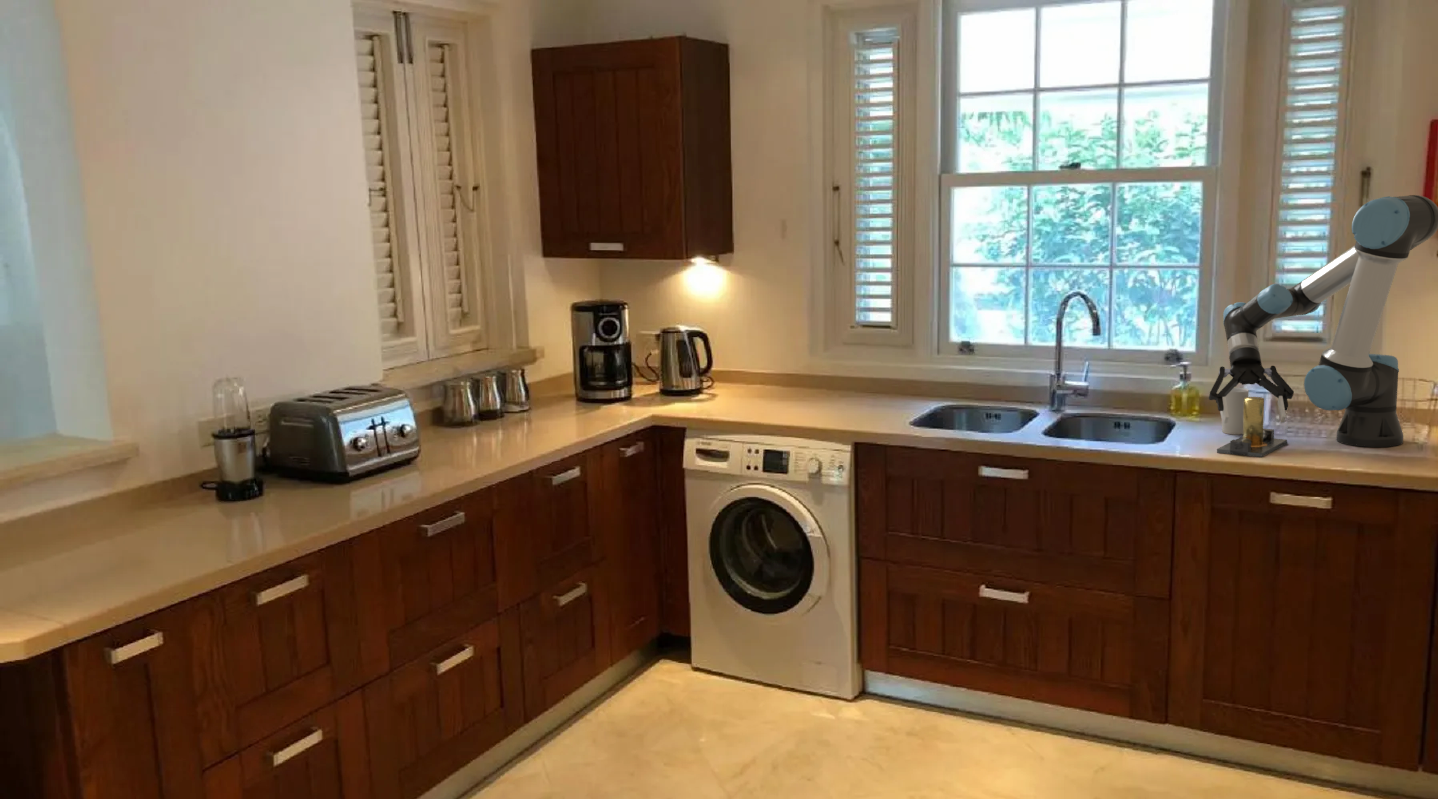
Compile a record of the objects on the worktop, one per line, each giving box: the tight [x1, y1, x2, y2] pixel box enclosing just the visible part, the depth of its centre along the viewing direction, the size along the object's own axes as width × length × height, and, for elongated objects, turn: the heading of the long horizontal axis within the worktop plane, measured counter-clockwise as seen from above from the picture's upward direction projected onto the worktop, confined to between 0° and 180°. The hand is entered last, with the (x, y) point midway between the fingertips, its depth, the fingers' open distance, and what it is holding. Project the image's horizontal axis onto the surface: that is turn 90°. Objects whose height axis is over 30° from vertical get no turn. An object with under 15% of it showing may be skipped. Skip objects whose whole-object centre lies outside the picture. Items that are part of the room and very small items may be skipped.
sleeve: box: [1242, 396, 1265, 446], centre depth 300 cm, size 5×5×12 cm
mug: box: [1219, 387, 1250, 436], centre depth 321 cm, size 10×7×12 cm, turn 11°
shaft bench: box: [1216, 428, 1288, 458], centre depth 301 cm, size 19×11×3 cm, turn 136°
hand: (1254, 420), depth 297 cm, fingers open, 13 cm apart
